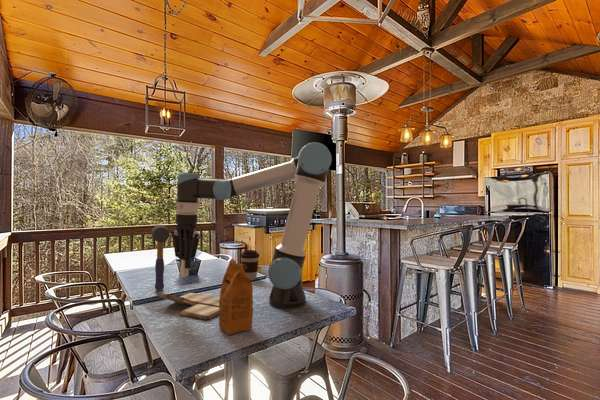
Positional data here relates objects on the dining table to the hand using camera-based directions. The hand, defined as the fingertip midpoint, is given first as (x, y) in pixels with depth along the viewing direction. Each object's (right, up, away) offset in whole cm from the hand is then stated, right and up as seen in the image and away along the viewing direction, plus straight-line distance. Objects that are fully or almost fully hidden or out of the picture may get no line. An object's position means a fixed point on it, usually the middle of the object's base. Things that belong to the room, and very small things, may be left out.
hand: (184, 276), depth 117 cm
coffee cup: (+16, -14, +50) cm, 54 cm away
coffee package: (+22, -14, -13) cm, 29 cm away
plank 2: (+7, -13, -2) cm, 15 cm away
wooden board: (+5, -13, +10) cm, 18 cm away
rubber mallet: (-22, -13, +27) cm, 37 cm away
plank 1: (-4, -11, +4) cm, 12 cm away
